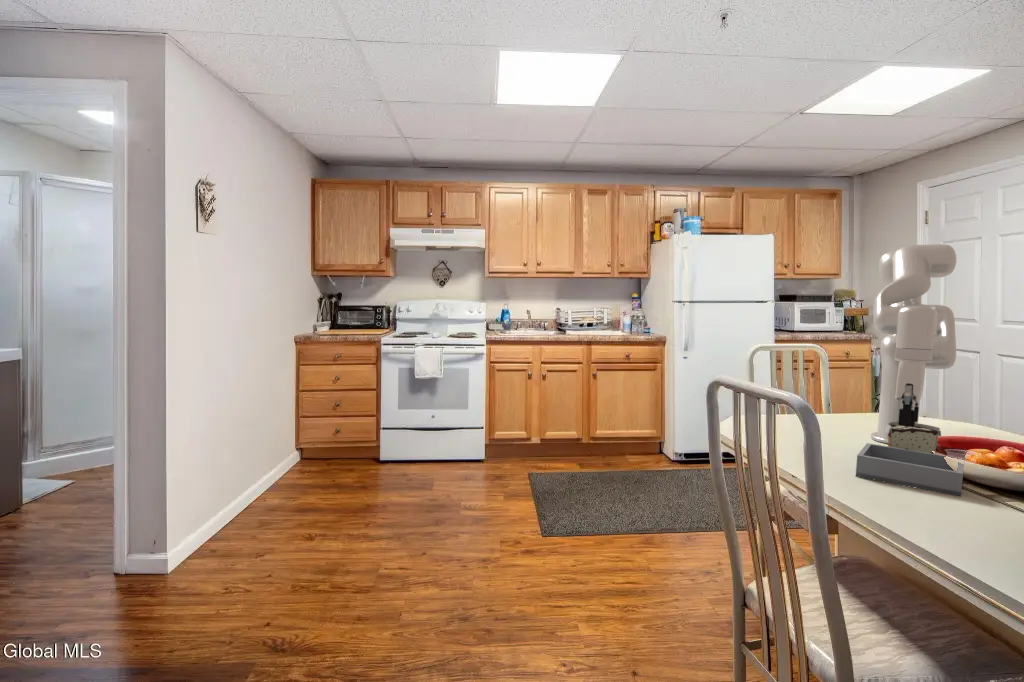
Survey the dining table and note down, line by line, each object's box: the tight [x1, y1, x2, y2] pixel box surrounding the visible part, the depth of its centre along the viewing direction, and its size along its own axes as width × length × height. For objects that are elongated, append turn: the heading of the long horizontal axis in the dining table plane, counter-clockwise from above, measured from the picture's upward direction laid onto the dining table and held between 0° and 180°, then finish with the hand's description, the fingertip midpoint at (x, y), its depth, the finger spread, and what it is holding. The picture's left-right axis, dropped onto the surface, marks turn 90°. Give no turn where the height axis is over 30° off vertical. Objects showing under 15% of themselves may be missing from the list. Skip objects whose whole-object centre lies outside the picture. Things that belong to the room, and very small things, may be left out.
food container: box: [885, 422, 942, 454], centre depth 139 cm, size 12×6×10 cm, turn 84°
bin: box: [855, 442, 965, 498], centre depth 127 cm, size 15×19×5 cm
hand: (908, 423), depth 138 cm, fingers open, 9 cm apart
